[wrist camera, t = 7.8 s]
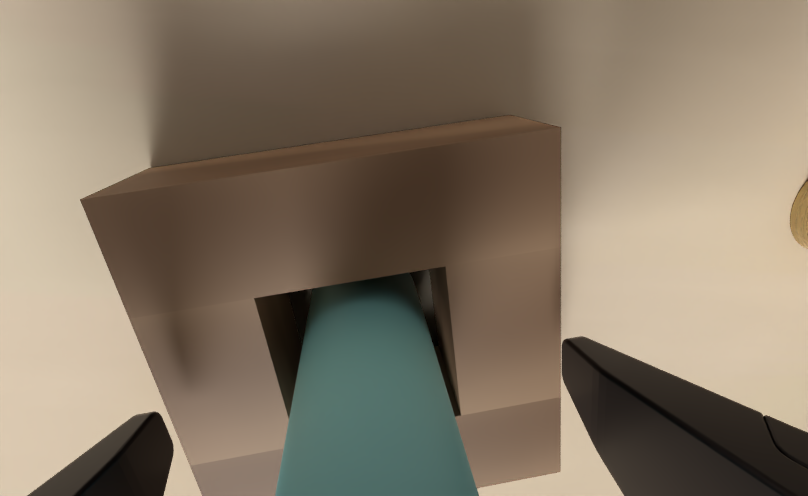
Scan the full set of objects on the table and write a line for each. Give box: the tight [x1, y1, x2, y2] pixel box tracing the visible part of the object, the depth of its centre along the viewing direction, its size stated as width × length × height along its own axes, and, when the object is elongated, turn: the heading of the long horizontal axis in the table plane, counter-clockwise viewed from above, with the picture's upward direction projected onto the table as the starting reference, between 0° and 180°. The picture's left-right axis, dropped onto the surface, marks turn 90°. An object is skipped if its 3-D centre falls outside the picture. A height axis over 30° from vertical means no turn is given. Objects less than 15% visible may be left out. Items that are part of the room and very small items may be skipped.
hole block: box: [80, 115, 561, 496], centre depth 11 cm, size 9×9×3 cm
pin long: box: [275, 273, 479, 496], centre depth 9 cm, size 3×3×9 cm
